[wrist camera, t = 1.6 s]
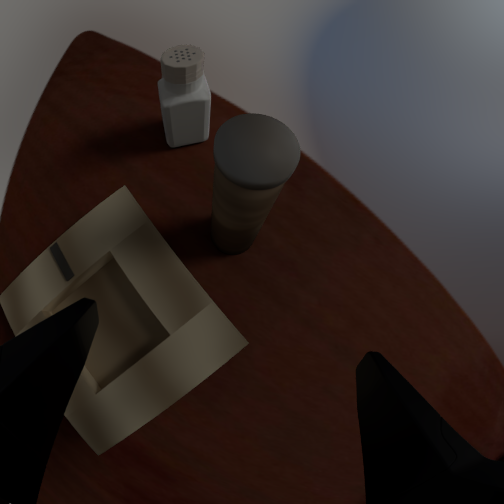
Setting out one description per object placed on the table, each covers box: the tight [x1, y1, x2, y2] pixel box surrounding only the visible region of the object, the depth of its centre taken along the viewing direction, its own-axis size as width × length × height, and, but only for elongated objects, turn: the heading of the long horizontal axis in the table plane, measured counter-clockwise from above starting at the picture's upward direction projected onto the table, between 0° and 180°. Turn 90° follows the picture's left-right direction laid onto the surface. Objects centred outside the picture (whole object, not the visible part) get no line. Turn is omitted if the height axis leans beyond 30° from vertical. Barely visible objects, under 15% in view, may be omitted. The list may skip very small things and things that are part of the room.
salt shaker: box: [158, 45, 211, 148], centre depth 21 cm, size 4×4×10 cm
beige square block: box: [0, 186, 248, 455], centre depth 18 cm, size 14×14×4 cm
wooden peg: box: [211, 114, 300, 255], centre depth 18 cm, size 4×4×12 cm
